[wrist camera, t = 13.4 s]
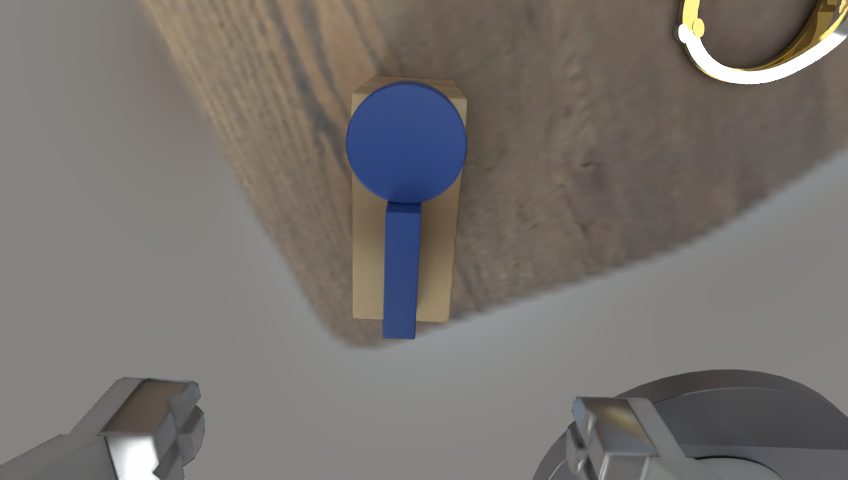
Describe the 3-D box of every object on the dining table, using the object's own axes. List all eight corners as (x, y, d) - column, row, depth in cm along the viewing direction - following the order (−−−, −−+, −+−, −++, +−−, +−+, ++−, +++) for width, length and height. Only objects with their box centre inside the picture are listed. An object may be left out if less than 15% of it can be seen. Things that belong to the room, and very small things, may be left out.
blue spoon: (449, 312, 19) (452, 341, 18) (352, 308, 19) (344, 336, 18) (469, 83, 16) (475, 89, 14) (350, 77, 16) (340, 82, 14)
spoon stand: (442, 245, 27) (448, 323, 20) (371, 242, 27) (352, 319, 20) (454, 79, 23) (467, 98, 16) (373, 75, 23) (350, 92, 16)
